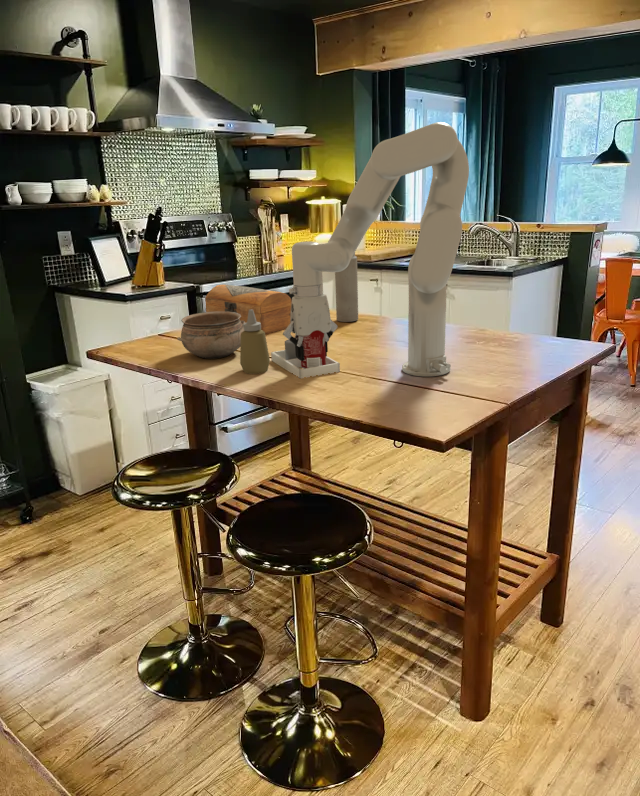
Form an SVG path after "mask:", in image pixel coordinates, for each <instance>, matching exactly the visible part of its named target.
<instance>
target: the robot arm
mask: <svg viewBox="0 0 640 796" xmlns="http://www.w3.org/2000/svg"><path fill="white" fill-rule="evenodd" d="M430 167H431V168H432V169H431V170H432V176H431V177H432V178H431V183H430V186H429V191H428V196H427V200H426V204H425V208H424V211H423V214H422V215H421V218H420V223H419V234H418V238H417V242H416V246H415V251H414V253H413V255H412V256H411V258H410V260H409V263H408V268H407V272H408V273H407V276H408V277H407V278H408V313H407V314H408V321H407V322H408V326H407V329H408V331H407V332H408V333H407V334H408V336H407V339H408V340H407V346H408V347H407V348H408V349H407V356H408V357H407V361H406V362H404V363H402V367H401V370H402V372H404V373H405V374H407V375H410V376H415V377H423V378H424V377H425V378H426V377H439V376H443V375H446V374H448V373H449V372H450V371H451V363H448V362H447V356H446V327H447V326H446V322H447V321H446V320H447V318H446V317H447V284H448V282H449V281H450V277H451V274H452V271H453V268H454V264H455V260H456V258H457V253H458V248H459V246H460V243H461V238H462V233H463V221H462V218H461V213H462V208H463V205H464V200H465V195H466V191H467V186H468V182H469V174H470V164H469V159H468V155H467V152H466V150H465V148H464V146H463V144H462V143H461V141H460V140H459V138H458V134H457V132H456V131H455V129H454V127H452V125H451V124H449V123H446V122H442V121H440V122H439V121H438V122H433V123H430V124H427V125H424V126H423V127H419V128H417V129H414V130H412V131H411V130H410V131H409V132H406V133H403V134H400V135H398V136H395V137H392V138H388V139H384V140H382V141H380V142H379V143H378V144H377V145H376V146H375V147H374V149H373V150H372V154H371V156H370V158H369V160H368V162H367V163H366V165H365V167H364V169H363V171H362V173H361V174H360V176H359V178H358V180H357V182H356V183H355V186H354V187H353V189H352V191H351V193H350V195H349V197H348V199H347V202H346V204H345V208H344V210H343V213H342V215H341V217H340V219H339V221H338V222H337V223H338V224H337V225H336V227H335V228H334V230H333V232H332V235H331V236H330V237H329V240H328V241H327V243H319V242H316V241H299V242H295V243H294V244H293V245H292V247H291V259H292V261H291V262H292V277H293V284H292V288H289V289H288V290H289V291H288V292H289V295H293V296H292V298H291V301H292V303H291V318H290V320H291V323H290V324H289V326H288V327H287V328H286V329H284V331H283V333H282V335H283V336H284V337H285V338H286V339H287V340H288V339H289V340H290V341H291V342H292V343H293V344H295V352H296V357H297V358H298V359H299V360H301V361H303V360H304V349H303V346H302V341H303V337H304V336H308V335H310V334H311V333H312V332H313V331H315V330H319V331H321V332H323V333H325V354H326V356H327V357H328V352H329V350H328V349H329V348H328V347H329V346H328V342H329V341H330V338H331V337H332V336H333V334H334V332H335V331H336V330H337V329H338V325H337V323H335V322H334V321H333V320H332V317H331V312H330V311H331V309H330V305H329V301H328V297H327V294H324V286H323V285H324V284H323V283H324V282H323V278H324V277H323V272H328V273H335V272H340V271H343V270H344V269H346V268H347V266H348V265H349V263H350V260H351V258H352V257H353V255H354V253H355V254H356V251H357V250H358V247H359V246H360V244H361V242H362V240H363V239H364V237H365V235H366V233H367V231H368V230H369V228H370V227H371V225H372V224H373V223H374V222H375V221H376V220H377V218H378V217H379V215H380V213H381V211H382V210H383V209H384V207H385V204H386V203H387V201H388V199H389V197H390V196H391V194H392V192H393V190H394V189H395V187H396V185H397V184H398V182H399V180H400V178H401V177H402V176H405V175H409V174H411V173H415V172H417V171H421V170H423V169H426V168H430ZM291 333H292V334H295V335H294V336H293V335H292V334H291Z"/></svg>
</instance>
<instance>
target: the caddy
mask: <svg viewBox="0 0 640 796" xmlns="http://www.w3.org/2000/svg"><path fill="white" fill-rule="evenodd" d="M270 353H271V357H270V358H271V361H272V362H273V363H275V364H276V365H278V366H280V367H281V368H283V369H285V370H286V371H287V372H289V373H291V374H292V373H293V374H292V375H294V376H295V375H296V377H297V376H298V377H297V378H299V379H305V378H304V377H306V378H310V376H312V377H317V376H316V375H318V376H323V375H322V374H324V375H329V374H328V373H330V374H335V373H334V372H336V373H340V372H341V366H340V364H341V363H340V362H338V361H337V360H334V359H333V358H331V357H329V356H328V355H327V356H326V365H323V366H317V367H311V368H306V369H303V368H302V367H301V360H299V359H298V358H297V357H296V352H295V344H293V343H292V342H291V341H290V340H289V339H288V338H287V339H286V340H285V341H284V349H282V350H277V351H271V352H270ZM301 368H302V369H301Z"/></svg>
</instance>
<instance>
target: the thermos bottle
mask: <svg viewBox="0 0 640 796" xmlns="http://www.w3.org/2000/svg"><path fill="white" fill-rule="evenodd" d="M358 280H359V279H358V256H356V252H355V253H354V255H353V257H352V258H351V260H350V263H349V265H348V266H347V268H346V269H344V270H343V271H340V272H334V281H335V308H336V309H335V312H336V313H335V315H336V317H335V318H336V321H338V322H345V323H348V322H350V323H351V322H355V321H358V320H359V293H358V292H359V290H358V289H359V288H358V286H359V285H358V284H359V283H358Z"/></svg>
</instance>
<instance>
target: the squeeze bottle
mask: <svg viewBox="0 0 640 796" xmlns="http://www.w3.org/2000/svg"><path fill="white" fill-rule="evenodd" d="M243 327H244V330H245V331H243V332H242V333H241V345H240V347H239V348H240V350H239V351H240V353H239V354H240V355H239V357H240V358H239V359H240V361H239V362H240V363H239V364H240V366H241V368H242V370H243V372H244V373H245V374H248V375H249V374H250V375H258V374H264V373H266V372H267V371H268V369H269V365H270V361H271V360H270V353H269V348H268V341H267V338H266V337H267V336H266V334H265V332H264V331H263V330H260V329H261V323H260V322H257V321H256V318H255V314H254V311H253V310H249V312H248V319H247V323H244V324H243Z"/></svg>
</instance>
